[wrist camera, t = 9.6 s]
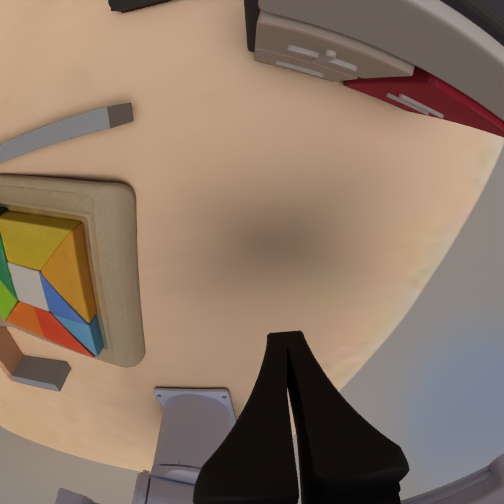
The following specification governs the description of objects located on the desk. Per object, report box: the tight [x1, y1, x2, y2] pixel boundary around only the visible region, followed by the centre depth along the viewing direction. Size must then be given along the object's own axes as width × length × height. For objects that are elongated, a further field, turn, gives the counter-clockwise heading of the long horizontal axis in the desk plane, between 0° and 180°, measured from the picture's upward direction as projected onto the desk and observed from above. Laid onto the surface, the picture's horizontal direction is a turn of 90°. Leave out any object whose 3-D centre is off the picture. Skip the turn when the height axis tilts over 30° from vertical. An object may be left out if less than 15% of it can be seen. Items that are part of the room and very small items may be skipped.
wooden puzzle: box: [0, 174, 145, 367], centre depth 21 cm, size 18×19×4 cm
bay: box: [0, 103, 133, 392], centre depth 21 cm, size 24×24×4 cm
